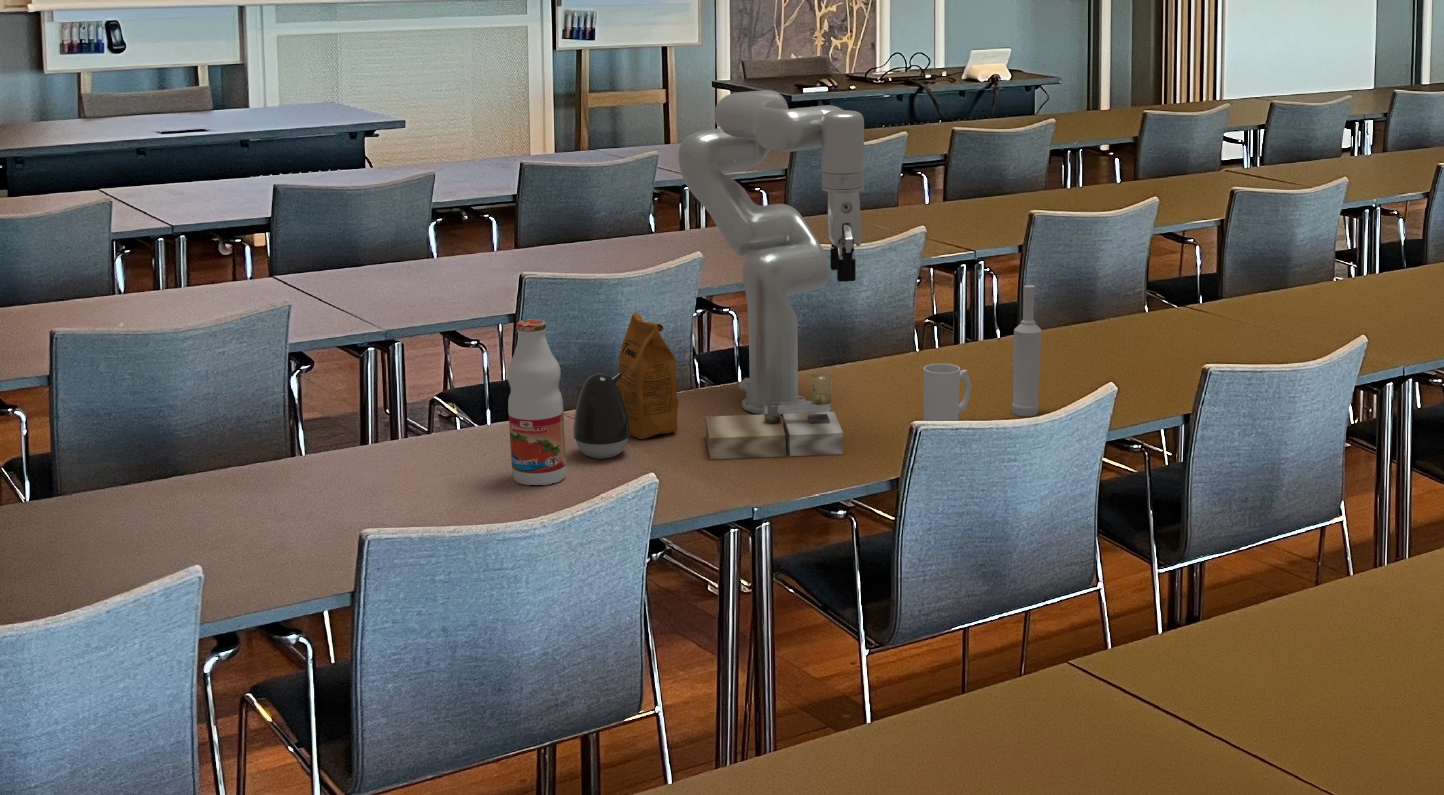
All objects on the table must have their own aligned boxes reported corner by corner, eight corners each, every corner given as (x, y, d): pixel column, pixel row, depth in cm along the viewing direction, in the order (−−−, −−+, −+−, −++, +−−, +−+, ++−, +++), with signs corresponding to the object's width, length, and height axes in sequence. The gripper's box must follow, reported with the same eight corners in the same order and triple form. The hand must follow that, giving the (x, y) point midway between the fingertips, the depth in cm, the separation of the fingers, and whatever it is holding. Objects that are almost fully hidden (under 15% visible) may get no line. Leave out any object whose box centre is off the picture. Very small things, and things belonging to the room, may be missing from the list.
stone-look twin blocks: (709, 459, 297) (709, 434, 296) (706, 437, 310) (705, 413, 308) (843, 454, 298) (843, 429, 297) (834, 432, 311) (834, 408, 310)
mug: (936, 437, 306) (937, 375, 303) (915, 428, 312) (916, 366, 309) (980, 428, 311) (981, 367, 308) (959, 419, 317) (960, 359, 313)
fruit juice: (576, 472, 292) (568, 317, 284) (551, 489, 284) (542, 330, 276) (528, 466, 295) (519, 313, 287) (502, 483, 287) (492, 326, 279)
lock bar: (764, 423, 302) (764, 380, 300) (763, 418, 306) (762, 375, 304) (832, 421, 303) (832, 378, 301) (830, 415, 306) (829, 372, 304)
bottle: (1042, 411, 321) (1047, 284, 314) (1032, 418, 317) (1037, 290, 309) (1017, 407, 323) (1021, 282, 316) (1007, 414, 319) (1011, 287, 312)
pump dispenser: (643, 452, 302) (640, 372, 297) (601, 467, 294) (597, 384, 290) (605, 441, 308) (601, 362, 304) (562, 455, 301) (558, 374, 297)
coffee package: (659, 417, 322) (655, 307, 316) (684, 435, 311) (681, 321, 305) (611, 425, 318) (606, 313, 312) (634, 443, 307) (630, 327, 301)
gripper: (870, 188, 288) (870, 285, 293) (856, 173, 304) (856, 264, 309) (827, 189, 287) (828, 286, 292) (816, 174, 304) (816, 266, 309)
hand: (842, 275), depth 301 cm, fingers open, 9 cm apart
